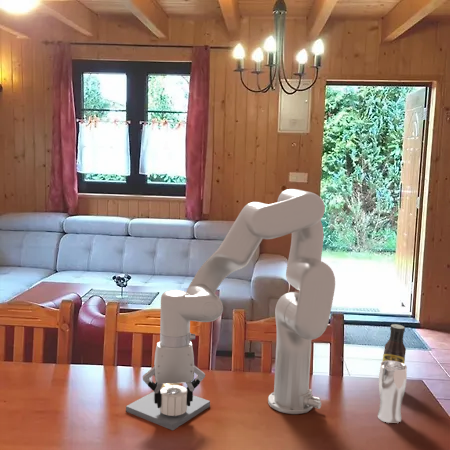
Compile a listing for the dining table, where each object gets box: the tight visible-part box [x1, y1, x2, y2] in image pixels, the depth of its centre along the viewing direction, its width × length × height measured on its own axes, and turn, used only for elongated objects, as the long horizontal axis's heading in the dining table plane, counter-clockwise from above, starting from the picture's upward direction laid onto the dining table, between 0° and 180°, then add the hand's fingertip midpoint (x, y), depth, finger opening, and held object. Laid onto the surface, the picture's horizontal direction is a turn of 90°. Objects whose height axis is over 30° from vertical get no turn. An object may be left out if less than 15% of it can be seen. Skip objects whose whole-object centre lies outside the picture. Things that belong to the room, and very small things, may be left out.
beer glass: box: [377, 360, 408, 424], centre depth 142 cm, size 7×7×15 cm
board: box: [125, 391, 211, 431], centre depth 144 cm, size 16×16×2 cm
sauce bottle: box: [382, 323, 407, 364], centre depth 159 cm, size 6×6×20 cm
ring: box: [160, 385, 187, 416], centre depth 138 cm, size 7×7×5 cm
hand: (173, 404), depth 139 cm, fingers closed on ring, 7 cm apart
